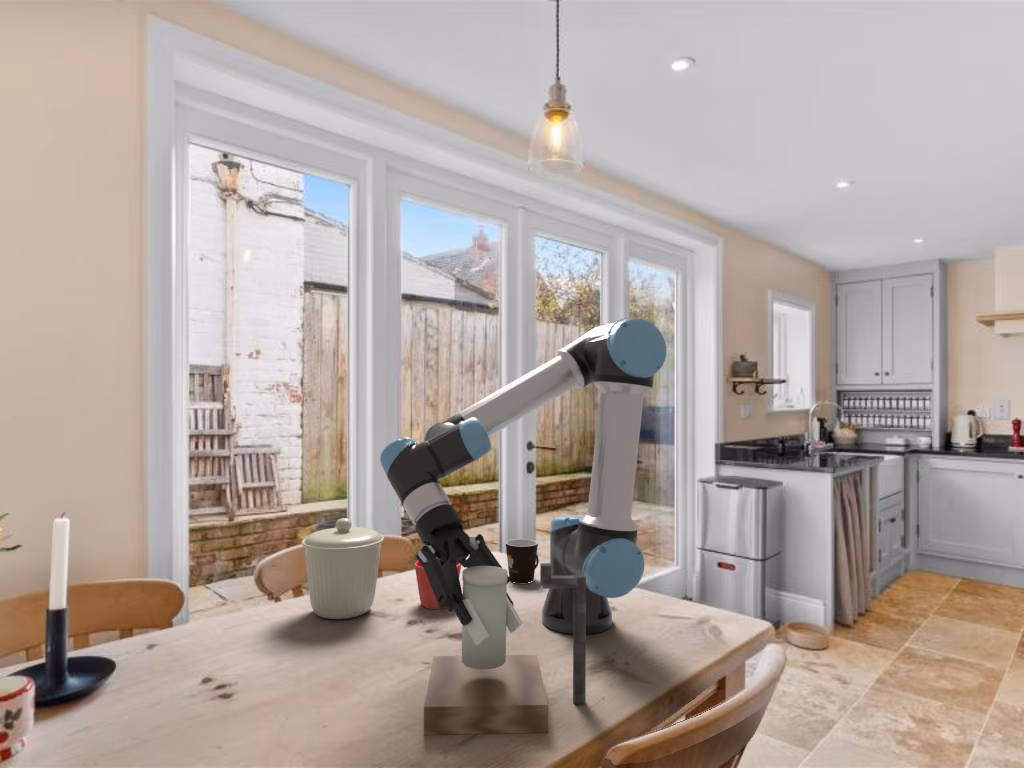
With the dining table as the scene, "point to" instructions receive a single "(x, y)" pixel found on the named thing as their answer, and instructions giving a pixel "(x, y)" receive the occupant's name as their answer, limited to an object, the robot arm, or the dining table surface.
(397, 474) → the robot arm
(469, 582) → the domed lid bottle
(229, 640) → the dining table surface
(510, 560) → the coffee mug
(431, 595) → the flower pot
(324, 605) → the canister
